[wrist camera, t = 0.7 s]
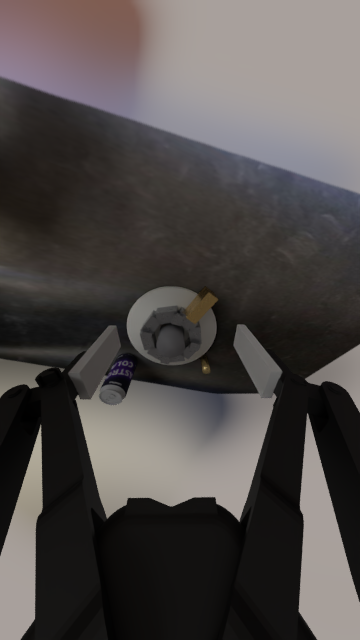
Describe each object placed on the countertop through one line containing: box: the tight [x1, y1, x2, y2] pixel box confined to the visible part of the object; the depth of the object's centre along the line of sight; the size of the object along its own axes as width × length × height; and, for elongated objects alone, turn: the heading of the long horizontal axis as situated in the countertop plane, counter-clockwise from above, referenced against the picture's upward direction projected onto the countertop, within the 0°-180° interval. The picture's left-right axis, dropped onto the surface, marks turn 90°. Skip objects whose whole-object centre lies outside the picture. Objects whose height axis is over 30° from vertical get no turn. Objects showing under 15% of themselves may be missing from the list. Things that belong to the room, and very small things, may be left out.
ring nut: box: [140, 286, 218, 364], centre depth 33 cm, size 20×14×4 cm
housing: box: [127, 286, 217, 365], centre depth 35 cm, size 22×22×8 cm
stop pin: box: [200, 355, 210, 374], centre depth 40 cm, size 2×2×5 cm
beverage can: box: [99, 354, 137, 405], centre depth 37 cm, size 6×6×12 cm
